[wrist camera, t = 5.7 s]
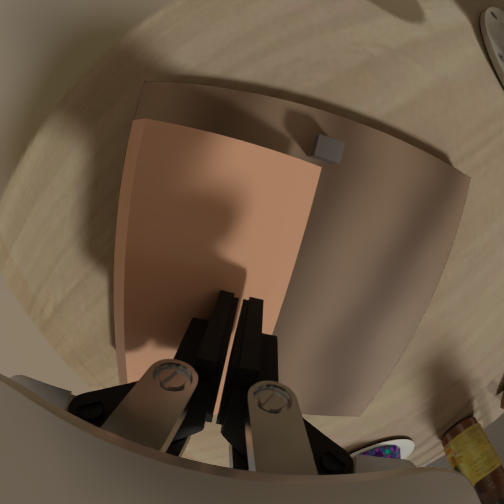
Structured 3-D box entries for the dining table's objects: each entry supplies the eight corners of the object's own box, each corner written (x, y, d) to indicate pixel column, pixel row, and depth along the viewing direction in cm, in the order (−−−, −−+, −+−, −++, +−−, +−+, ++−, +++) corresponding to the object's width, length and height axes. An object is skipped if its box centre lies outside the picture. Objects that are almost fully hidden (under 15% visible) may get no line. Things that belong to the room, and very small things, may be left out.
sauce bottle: (434, 438, 23) (473, 545, 4) (470, 409, 21) (521, 513, 2) (446, 445, 24) (481, 536, 5) (478, 419, 22) (522, 507, 3)
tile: (145, 118, 6) (130, 120, 6) (137, 447, 10) (126, 430, 11) (321, 167, 11) (300, 162, 12) (249, 396, 16) (237, 385, 16)
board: (457, 175, 14) (488, 180, 10) (356, 404, 20) (364, 432, 17) (154, 87, 13) (130, 72, 10) (126, 359, 19) (109, 385, 16)
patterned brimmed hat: (428, 438, 23) (439, 466, 18) (365, 479, 26) (371, 505, 21) (376, 429, 22) (387, 466, 17) (305, 474, 25) (308, 506, 20)
